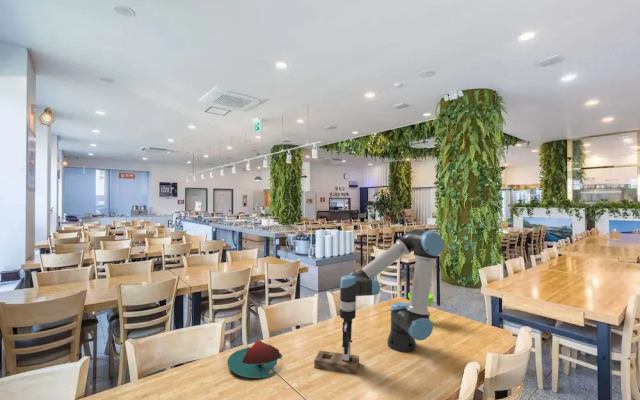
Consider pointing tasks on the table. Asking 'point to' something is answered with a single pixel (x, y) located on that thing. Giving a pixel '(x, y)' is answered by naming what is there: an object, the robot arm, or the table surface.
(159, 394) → the table surface
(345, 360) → the peg
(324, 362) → the socket block
